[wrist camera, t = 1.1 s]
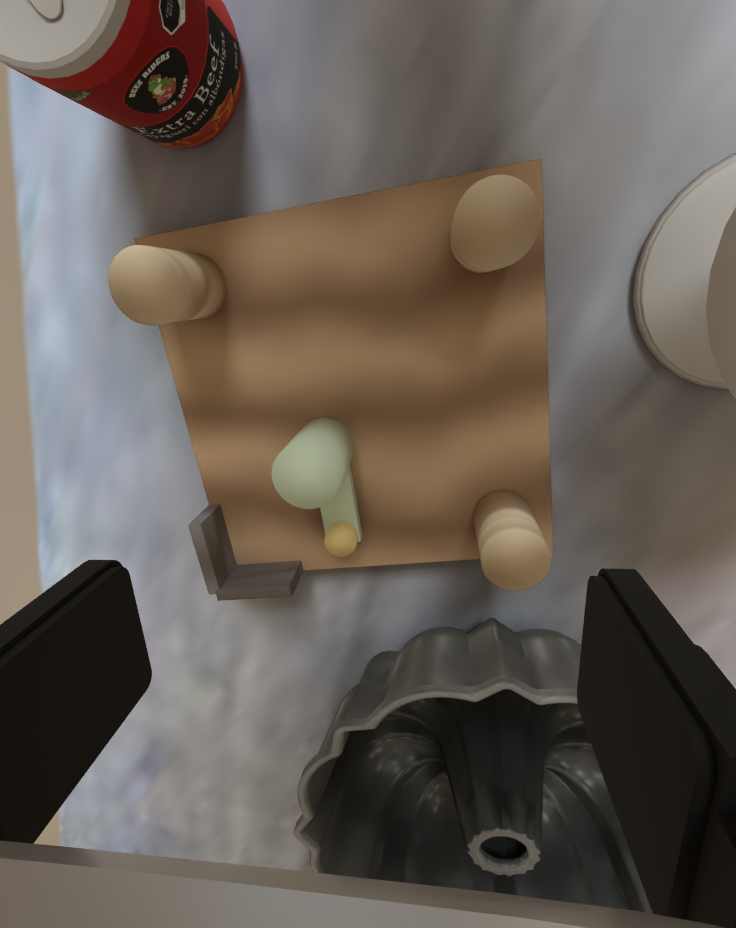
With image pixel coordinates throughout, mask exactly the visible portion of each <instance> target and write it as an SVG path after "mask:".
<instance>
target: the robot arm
mask: <svg viewBox="0 0 736 928" xmlns="http://www.w3.org/2000/svg"><path fill="white" fill-rule="evenodd" d="M151 677H152V670H151V665H150V661H149V656H148V652H147V648H146V643H145V639H144V635H143V630H142V626H141V622H140V617H139V613H138V609H137V604H136V600H135V596H134V591H133V587H132V583H131V578H130V574H129V572H128V570H127V569H126V568H124V567H123V566H122V565H121V563H120V562H118V561H116V560H88V561H86V562H84V563H83V564H82V565H80V566H79V567H77V568H76V569H75V570H73V571H72V572H71V573H69V574H68V575H67V576H65V577H64V578H63V579H61V580H60V581H59V582H57V583H56V584H55V585H53V586H52V587H51V588H49V589H48V590H47V591H45V592H44V593H42V594H41V595H40V596H39V597H37V598H36V599H34V600H33V601H32V602H30V603H29V604H28V605H26V606H25V607H24V608H22V609H21V610H20V611H18V612H17V613H16V614H15V615H13V616H12V617H10V618H9V619H7V620H6V621H5V622H4V623H2V624H1V625H0V928H736V689H735V688H734V687H733V685H732V684H731V683H730V682H729V680H728V679H727V678H726V677H725V675H724V674H723V673H722V671H721V670H720V669H719V668H718V666H717V665H716V664H715V663H714V661H713V660H712V659H711V658H710V656H709V655H708V654H707V653H706V652H705V651H704V650H703V649H702V648H701V647H700V646H697V645H695V644H693V642H692V641H691V640H690V638H689V637H688V636H687V635H686V633H685V632H684V631H683V629H682V628H681V627H680V625H679V624H678V623H677V622H676V620H675V619H674V618H673V616H672V615H671V614H670V613H669V611H668V610H667V609H666V607H665V606H664V605H663V604H662V602H661V601H660V600H659V598H658V597H657V596H656V595H655V593H654V592H653V591H652V589H651V588H650V587H649V586H648V584H647V583H646V582H645V580H644V579H643V578H642V576H641V575H640V574H639V573H638V572H637V571H636V570H635V569H601V570H600V571H599V573H598V576H590V577H589V580H588V585H587V595H586V605H585V615H584V625H583V635H582V645H581V655H580V665H579V675H578V685H577V702H578V708H579V712H580V715H581V718H582V721H583V723H584V726H585V729H586V732H587V734H588V737H589V740H590V743H591V745H592V748H593V751H594V754H595V756H596V759H597V762H598V765H599V767H600V770H601V773H602V776H603V778H604V781H605V784H606V786H607V789H608V792H609V795H610V797H611V800H612V803H613V806H614V808H615V811H616V814H617V817H618V819H619V822H620V825H621V828H622V830H623V833H624V836H625V839H626V841H627V844H628V847H629V850H630V852H631V855H632V858H633V861H634V863H635V866H636V869H637V871H638V874H639V877H640V880H641V882H642V885H643V888H644V891H645V893H646V896H647V899H648V902H649V904H650V907H651V910H652V912H653V914H650V913H645V912H639V911H633V910H625V909H617V908H610V907H602V906H594V905H586V904H579V903H571V902H563V901H556V900H548V899H540V898H533V897H525V896H517V895H510V894H502V893H493V892H484V891H475V890H466V889H457V888H448V887H439V886H430V885H421V884H412V883H403V882H394V881H385V880H376V879H367V878H358V877H349V876H340V875H331V874H322V873H313V872H303V871H294V870H284V869H275V868H265V867H256V866H246V865H237V864H227V863H218V862H208V861H199V860H189V859H179V858H170V857H160V856H150V855H141V854H131V853H121V852H111V851H102V850H92V849H82V848H71V847H61V846H51V845H40V844H33V843H34V842H35V841H36V839H37V838H38V837H39V835H40V834H41V833H42V831H43V830H44V828H45V827H46V826H47V824H48V823H49V822H50V820H51V819H52V818H53V816H54V815H55V813H56V812H57V811H58V810H59V808H60V807H61V805H62V804H63V803H64V801H65V800H66V799H67V797H68V796H69V795H70V793H71V792H72V791H73V789H74V788H75V786H76V785H77V784H78V782H79V781H80V780H81V778H82V777H83V776H84V774H85V773H86V772H87V770H88V769H89V768H90V766H91V765H92V763H93V762H94V761H95V759H96V758H97V757H98V755H99V754H100V753H101V751H102V750H103V749H104V747H105V746H106V744H107V743H108V742H109V740H110V739H111V738H112V736H113V735H114V734H115V732H116V731H117V730H118V728H119V727H120V726H121V724H122V723H123V721H124V720H125V719H126V717H127V716H128V715H129V713H130V712H131V711H132V709H133V708H134V707H135V705H136V704H137V702H138V701H139V700H140V698H141V697H142V696H143V694H144V693H145V692H146V690H147V689H148V687H149V685H150V682H151Z"/></svg>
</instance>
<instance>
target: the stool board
mask: <svg viewBox="0 0 736 928" xmlns="http://www.w3.org/2000/svg"><path fill="white" fill-rule="evenodd" d="M135 243H136V245H133V246H129V247H127V248H124V249H123V250H121V251H120V252H119V253H118V254H117V255H116V256H115V258H114V259H113V261H112V263H111V266H110V270H109V287H110V292H111V294H112V297H113V299H114V301H115V303H116V305H117V306H118V307H119V309H120V310H121V311H122V312H123V313H124V314H125V315H126V316H127V317H129V318H130V319H132V320H133V321H135V322H138V323H141V324H145V325H156V324H159V328H160V332H161V335H162V339H163V342H164V346H165V349H166V353H167V356H168V360H169V364H170V367H171V371H172V374H173V378H174V381H175V385H176V388H177V392H178V396H179V399H180V403H181V406H182V410H183V413H184V417H185V420H186V424H187V428H188V431H189V435H190V438H191V442H192V445H193V449H194V452H195V456H196V460H197V463H198V467H199V470H200V474H201V477H202V481H203V484H204V488H205V492H206V495H207V499H208V502H209V506H208V507H207V508H206V509H205V510H204V511H203V512H202V513H201V514H199V515H198V516H197V517H196V518H195V519H194V520H193V521H192V522H191V523H190V524H189V525H188V526H189V530H190V533H191V536H192V539H193V543H194V546H195V549H196V553H197V556H198V559H199V563H200V566H201V569H202V573H203V576H204V579H205V583H206V586H207V589H208V593H209V594H216V595H217V598H218V601H219V600H236V599H254V598H272V597H289V596H292V594H293V592H294V590H295V588H296V586H297V583H298V581H299V579H300V577H301V575H302V572H303V570H318V569H334V568H349V567H364V566H379V565H395V564H410V563H425V562H440V561H456V560H471V559H481V565H482V569H483V572H484V574H485V576H486V577H487V579H488V580H489V581H490V582H491V583H493V584H494V585H496V586H497V587H499V588H502V589H505V590H510V591H520V590H526V589H529V588H532V587H534V586H536V585H537V584H539V583H540V582H541V581H542V580H543V579H544V578H545V577H546V575H547V574H548V572H549V570H550V566H551V555H550V554H553V531H552V498H551V464H550V431H549V397H548V364H547V330H546V297H545V264H544V230H543V197H542V163H541V159H537V160H532V161H527V162H522V163H516V164H511V165H506V166H501V167H496V168H491V169H486V170H481V171H476V172H471V173H466V174H461V175H456V176H450V177H445V178H440V179H435V180H430V181H425V182H420V183H415V184H410V185H405V186H400V187H395V188H390V189H384V190H379V191H374V192H369V193H364V194H359V195H354V196H349V197H344V198H339V199H334V200H329V201H324V202H319V203H313V204H308V205H303V206H298V207H293V208H288V209H283V210H278V211H273V212H268V213H263V214H258V215H253V216H247V217H242V218H237V219H232V220H227V221H222V222H217V223H212V224H207V225H202V226H197V227H192V228H187V229H182V230H176V231H171V232H166V233H161V234H156V235H151V236H146V237H141V238H136V239H135ZM320 418H329V419H333V420H336V421H338V422H340V423H341V424H343V425H344V426H345V427H346V428H347V429H348V430H349V431H350V433H351V435H352V437H353V439H354V443H355V453H354V457H353V459H352V461H351V463H350V466H351V472H352V477H353V483H354V489H355V495H356V501H357V506H358V512H359V518H360V524H361V530H362V539H361V541H360V542H357V545H356V548H355V550H354V551H353V553H352V554H350V555H348V556H345V557H338V556H335V555H333V554H331V553H330V552H329V551H328V550H327V549H326V547H325V543H324V540H325V536H326V534H325V529H324V524H323V519H322V514H321V509H320V507H319V508H315V509H303V508H299V507H296V506H293V505H291V504H290V503H288V502H286V501H285V500H284V499H283V498H282V497H281V496H280V495H279V494H278V492H277V491H276V489H275V487H274V484H273V481H272V466H273V463H274V461H275V459H276V457H277V456H278V455H279V453H280V452H281V451H282V450H283V449H284V448H285V447H286V446H287V445H288V444H289V442H290V441H291V440H292V439H293V438H294V437H295V436H296V435H297V434H298V433H299V432H300V431H301V429H302V428H303V427H304V426H305V425H306V424H308V423H309V422H311V421H313V420H315V419H320Z"/></svg>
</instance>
